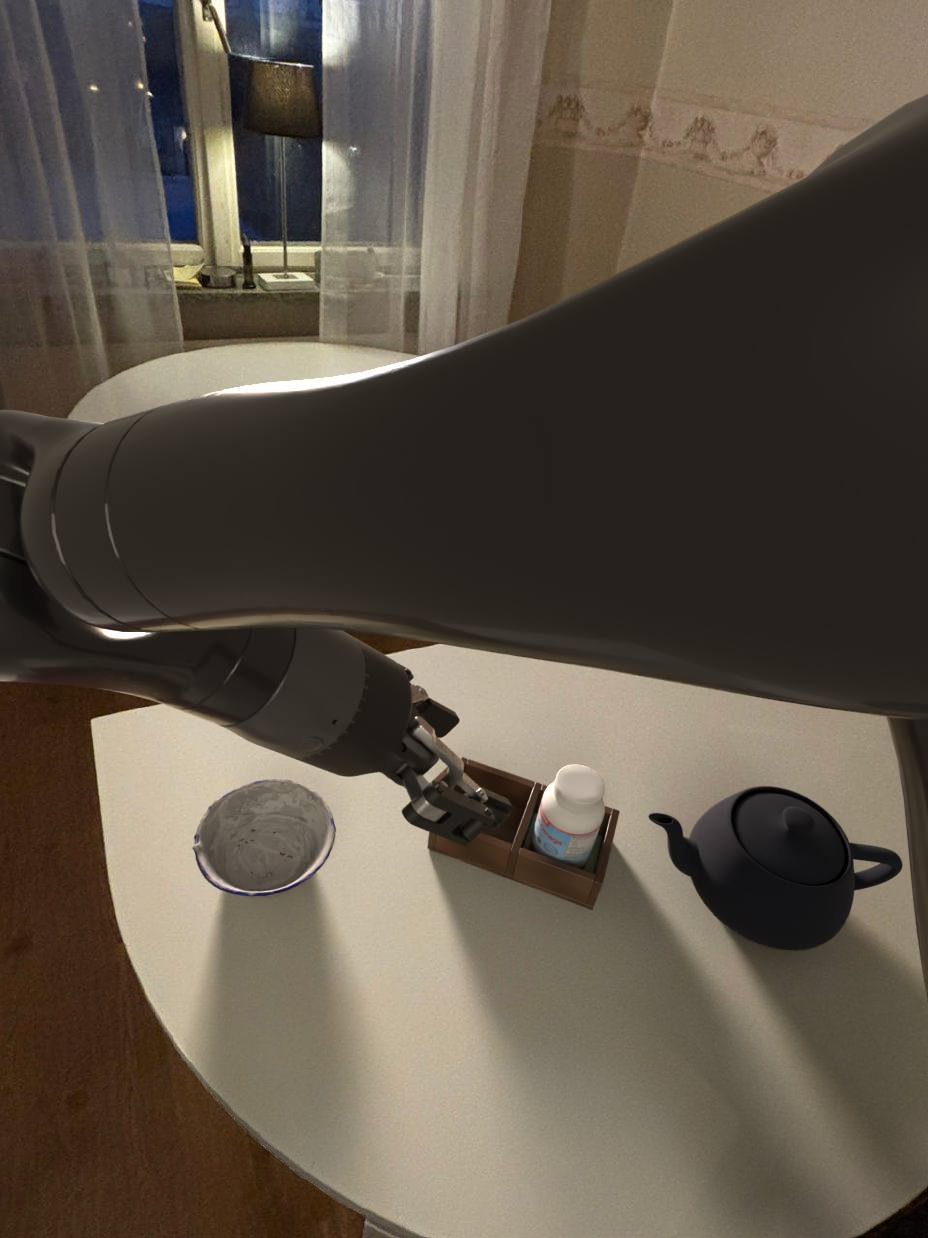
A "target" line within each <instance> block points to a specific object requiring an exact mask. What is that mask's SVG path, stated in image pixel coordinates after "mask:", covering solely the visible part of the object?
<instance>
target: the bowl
mask: <svg viewBox="0 0 928 1238" xmlns="http://www.w3.org/2000/svg"><path fill="white" fill-rule="evenodd" d="M336 833H337V827H336V825H335V820H334V816H333V813H332V811H331V809H330V806H329V805H328V804H327V802H326V801H325V800H324V798H323V797H322V796H321V795H320V794H319V793H317V792H316V791H315V790H313V789H312V788H310V787H308V786H307V785H306V784H304V783H301V782H298V781H293V780H290V779H285V778H283V779H282V778H271V779H270V778H269V779H263V780H255V781H253V782H250V783H246V784H243V785H241V786H239V787H237V788H235V789H232V790H230V791H229V792H227V793H226V794H224V795H223V796H221V797H219V798H218V799H215V800H214V801H213V802H211V803H210V805H208V808H207V810H206V811H205V812H204V814H203V816H202V818H201V820H200V821H199V823H198V825H197V829H196V832H195V834H194V837H193V839H194V845H193V846H192V848H191V849H192V850H193V852H194V855H195V856H194V857H195V862H196V865H197V868H198V870H199V871H200V873H201V875H202V876H203V878H204V879H205V880H206V881H207V882H208V883H209V884H210V885H211V886H213V887H214V888H216V889H217V890H219V891H222V892H225V893H228V894H231V895H237V896H241V897H247V898H255V899H269V898H274V897H278V896H280V895H283V894H286V893H287V892H290V891H291V890H294V888H296V887H298V886H300V885H302V884H303V883H305V882H306V881H308V880H309V879H311V878H312V877H313V876H314V875H316V873H317V872H318V871H319V870H320V869H321V868H322V867H323V866H324V865H325V863H326V862H327V861H328V858H329V856H330V854H331V852H332V850H333V847H334V845H335V844H334V843H335V840H336Z"/></svg>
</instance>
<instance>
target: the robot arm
mask: <svg viewBox="0 0 928 1238" xmlns="http://www.w3.org/2000/svg"><path fill="white" fill-rule="evenodd" d="M348 632H353V633H362V634H369V635H370V634H371V635H376V636H377V635H378V636H384V637H392V638H398V639H407V640H413V641H419V642H428V643H433V644H439V645H445V646H451V647H457V648H462V649H468V650H475V651H481V652H487V653H493V654H500V655H506V656H513V657H519V658H524V659H532V660H537V661H545V662H550V663H551V662H552V663H558V664H564V665H569V666H576V667H582V668H583V667H584V668H588V669H589V668H591V669H596V670H603V671H607V672H608V671H609V672H613V673H620V674H624V675H630V676H637V677H641V678H647V679H652V680H657V681H658V680H659V681H664V682H669V683H676V684H681V685H686V686H692V687H697V688H698V687H699V688H704V689H710V690H714V691H720V692H724V693H725V692H726V693H732V694H735V695H736V694H737V695H743V696H748V697H754V698H758V699H765V700H770V701H777V702H784V703H790V704H795V705H803V706H809V707H815V708H821V709H828V710H835V711H842V712H849V713H856V714H863V715H864V714H865V715H871V716H878V717H885V719H886V721H887V725H888V728H889V732H890V736H891V741H892V744H893V748H894V752H895V756H896V760H897V766H898V773H899V777H900V785H901V792H902V797H903V806H904V807H903V808H904V817H905V818H904V819H905V827H906V829H905V830H906V839H907V849H908V850H907V851H908V859H909V871H910V881H911V892H912V900H913V901H912V902H913V910H914V911H913V912H914V921H915V927H916V936H917V945H918V951H919V957H920V965H921V971H922V972H921V973H922V977H923V983H924V984H923V985H924V990H925V995H926V1001H927V1003H928V93H926V94H924V95H922V96H920V97H918V98H916V99H913V100H911V101H909V102H906V103H905V104H903V105H901V106H900V107H898V108H897V109H896V110H894V111H893V112H891V113H890V114H888V115H887V116H885V117H884V118H882V119H881V120H879V121H878V122H876V123H875V124H873V125H872V126H870V127H868V128H867V129H865V130H864V131H862V132H861V133H859V134H858V135H857V136H855V137H853V138H851V139H850V140H849V141H847V142H845V143H844V144H843V145H841V146H839V147H838V148H836V149H835V150H834V151H833V152H832V153H831V154H830V155H828V156H827V158H825V159H824V160H823V161H822V162H821V163H820V164H819V165H818V166H817V167H816V168H814V169H813V171H810V173H809V174H808V175H807V176H806V177H804V178H802V179H801V180H799V181H797V182H794V183H793V184H791V185H789V186H786V187H785V188H783V189H780V190H779V191H777V192H775V193H773V194H772V195H769V196H767V197H765V198H763V199H761V200H759V201H756V202H755V203H754V204H752V205H749V206H748V207H746V208H743V209H742V210H739V211H738V212H736V213H734V214H732V215H729V216H728V217H726V218H724V219H722V220H720V221H718V222H716V223H715V224H712V225H710V226H708V227H706V228H704V229H702V230H700V231H698V232H697V233H694V234H693V235H690V236H688V237H686V238H685V239H682V240H681V241H679V242H677V243H675V244H673V245H671V246H668V247H666V248H665V249H663V250H660V251H659V252H657V253H654V254H652V255H651V256H649V257H647V258H645V259H643V260H641V261H639V262H636V263H635V264H633V265H631V266H629V267H627V268H625V269H623V270H621V271H619V272H617V273H615V274H613V275H611V276H609V277H607V278H605V279H603V280H601V281H599V282H597V283H595V284H593V285H591V286H589V287H586V288H585V289H583V290H580V291H578V292H576V293H574V294H572V295H570V296H568V297H566V298H563V299H562V300H559V301H557V302H556V303H554V304H552V305H549V306H547V307H545V308H543V309H541V310H538V311H536V312H534V313H532V314H530V315H528V316H526V317H523V318H520V319H519V320H516V321H514V322H510V323H509V324H506V325H503V326H501V327H497V328H495V329H493V330H490V331H487V332H486V333H485V332H484V333H483V334H480V335H477V336H475V337H473V338H469V339H468V340H465V341H462V342H459V343H457V344H454V345H452V346H447V347H446V348H445V347H444V348H442V349H439V350H435V351H432V352H429V353H426V354H423V355H420V356H418V357H414V358H411V359H408V360H404V361H402V362H397V363H394V364H389V365H386V366H382V367H377V368H375V369H371V370H366V371H363V372H356V373H351V374H344V375H338V376H333V377H324V378H314V379H303V380H290V381H289V380H288V381H287V380H286V381H276V382H266V383H258V384H252V385H244V386H240V387H233V388H227V389H223V390H217V391H213V392H209V393H208V392H207V393H204V394H200V395H195V396H192V397H189V398H184V399H181V400H176V401H174V402H171V403H167V404H164V405H160V406H157V407H154V408H150V409H146V410H143V411H140V412H135V413H133V414H129V415H127V416H122V417H120V418H116V419H113V420H109V421H107V422H96V421H90V420H81V419H72V418H62V417H53V416H47V415H42V414H38V413H33V412H29V411H22V410H17V409H0V682H11V683H25V684H26V683H27V684H43V685H44V684H45V685H62V686H71V687H72V686H74V687H84V688H92V689H98V690H104V691H111V692H115V693H121V694H124V695H125V694H126V695H130V696H133V697H139V698H141V699H146V700H150V701H153V702H156V703H158V704H162V705H164V706H167V707H169V708H173V709H175V710H178V711H180V712H183V713H185V714H189V715H191V716H193V717H195V718H199V719H201V720H204V721H206V722H209V723H212V724H214V725H218V726H220V727H221V728H224V729H226V730H228V731H230V732H231V733H234V734H235V735H236V736H238V737H240V738H241V739H243V740H245V741H247V742H249V743H252V744H254V745H256V746H259V747H261V748H265V749H267V750H270V751H273V752H275V753H278V754H281V755H283V756H286V757H289V758H291V759H294V760H296V761H299V762H302V763H304V764H306V765H309V766H312V767H315V768H318V769H320V770H324V771H325V772H328V773H331V774H334V775H337V776H339V777H347V778H352V777H359V776H364V775H369V774H375V773H376V774H377V773H380V774H382V775H383V776H385V777H386V778H387V779H389V780H391V782H393V783H394V784H396V785H398V786H400V787H403V788H404V789H405V791H406V793H407V795H408V797H409V799H410V802H408V803H407V804H406V805H405V806H404V807H403V808H402V809H401V815H402V816H403V818H404V819H405V821H406V822H407V823H409V824H410V825H412V826H413V827H416V828H418V829H421V830H423V831H426V832H428V833H429V832H431V833H433V834H436V835H438V836H441V837H443V838H446V839H448V840H451V841H453V842H456V843H458V844H461V845H463V846H467V845H468V844H469V843H470V842H471V841H472V840H474V839H475V838H476V837H477V836H478V835H479V834H480V833H481V832H482V831H483V830H485V829H486V828H488V829H490V830H495V829H496V828H497V827H499V826H500V825H501V824H502V823H503V822H504V821H505V820H506V819H507V818H509V817H510V813H511V812H512V811H513V807H512V805H511V803H510V802H509V800H508V799H507V798H505V797H503V796H500V795H498V794H496V793H494V792H491V791H489V790H487V789H485V788H482V787H479V786H478V785H477V784H476V783H475V782H474V781H473V780H472V779H471V778H470V777H468V776H467V775H466V774H465V773H464V763H463V761H462V760H461V757H459V756H458V755H457V754H456V753H455V752H454V751H453V750H452V749H451V748H450V747H449V746H447V745H446V743H444V742H443V741H442V740H441V739H442V738H444V737H446V736H447V735H448V734H449V733H450V732H451V731H452V730H453V729H455V727H456V726H457V725H459V723H460V721H461V720H460V717H459V716H458V714H457V713H456V711H454V710H453V709H451V708H449V707H447V706H445V705H443V704H442V703H440V702H438V701H436V700H434V699H432V698H431V697H429V694H428V692H427V690H426V689H425V688H424V687H422V686H420V685H416V684H412V683H411V681H412V680H413V679H414V678H415V676H414V675H413V673H412V671H411V669H409V668H408V667H406V666H404V665H402V664H400V663H398V662H397V661H396V660H394V659H392V658H390V657H389V656H387V655H385V654H384V653H382V652H380V651H379V650H377V649H375V648H374V647H371V645H368V644H366V643H365V642H364V641H361V640H360V639H358V638H357V637H354V636H353V635H351V634H349V633H348ZM439 760H440V761H442V762H443V763H444V764H445V765H446V767H445V768H444V769H443V770H442V771H441V772H440V773H439V774H438V775H437V776H436V777H434V779H432V781H430V782H429V781H428V780H427V778H426V777H425V775H426V774H427V773H428V772H429V771H430V770H431V769H432V768H433V767H435V766H436V764H438V762H439ZM452 785H458V786H460V787H461V788H462V789H463V790H464V791H465V792H466V793H465V794H464V795H463V794H461V793H458V792H456V791H454V790H452V789H450V787H451V786H452Z"/></svg>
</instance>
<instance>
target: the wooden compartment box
mask: <svg viewBox="0 0 928 1238" xmlns="http://www.w3.org/2000/svg"><path fill="white" fill-rule="evenodd" d="M460 759H461V760H462V761H463V763H464V773H465V774H466V775H467V776H468V777H470V778H471V779H472V780H473V781H474V782H475V783H476V784H477V785H478V786H479V787H482V788H485V789H487V790H489V791H491V792H494V793H496V794H498V795H500V796H503V797H505V798H507V799H508V800H509V802H510V803H511V805H512V807H513V811H512V812H511V813H510V817H509V818H507V819H506V820H505V821H504V822H503V823H502V824H501V825H500V826H499V827H497V828H496V829H495V830H490V829H488V828H486V829H485V830H483V831H482V832H481V833H480V834H479V835H478V836H477V837H476V838H475V839H474V840H472V841H471V842H470V843H469V844H468V845H467V846H463V845H461V844H458V843H456V842H453V841H451V840H448V839H446V838H443V837H441V836H438V835H436V834H433V833H431V832H428V839H427V849H428V850H431V851H433V852H435V853H438V854H440V855H444V856H446V857H450V858H451V859H454V860H457V861H460V862H463V863H465V864H468V865H471V866H473V867H476V868H479V869H482V870H484V871H486V872H489V873H491V874H495V875H497V876H500V877H502V878H505V879H508V880H510V881H513V882H516V883H519V884H522V885H524V886H526V887H529V888H532V889H534V890H538V891H540V892H542V893H546V894H548V895H550V896H553V897H556V898H559V899H561V900H563V901H566V902H569V903H572V904H575V905H577V906H579V907H583V908H585V909H587V910H591V911H594V908H595V905H596V903H597V900H598V898H599V896H600V892H601V890H602V887H603V885H604V880H605V876H606V872H607V868H608V864H609V861H610V860H609V859H610V855H611V850H612V847H613V842H614V837H615V834H616V830H617V824H618V820H619V816H620V813H621V811H620V810H619V809H615V808H613V807H609V806H607V805H605V814H604V818H603V821H602V823H601V826H600V829H599V832H598V834H597V837H596V840H595V843H594V846H593V848H592V851H591V854H590V856H589V859H588V861H587V864H586V865H585V867H584V868H583V869H582V870H581V869H579V868H576V867H573V866H570V865H568V864H565V863H562V862H559V861H557V860H554V859H551V858H548V857H546V856H543V855H540V854H537V853H535V852H532V851H530V841H531V837H532V833H533V830H534V826H535V822H536V819H537V815H538V812H539V808H540V804H541V801H542V797H543V794H544V792H545V790H546V788H547V787H548V786H549V785H546V784H542V783H539V782H535V781H534V780H531V779H528V778H525V777H523V776H519V775H517V774H514V773H511V772H508V771H505V770H502V769H499V768H496V767H493V766H491V765H488V764H484V763H482V762H479V761H476V760H473V759H470V758H467V757H464V756H461V757H460ZM450 789H452V790H454V791H456V792H458V793H461V794H463V795H464V794H465V793H466V792H465V791H464V790H463V789H462V788H461V787H460V786H458V785H452V786H451V787H450Z"/></svg>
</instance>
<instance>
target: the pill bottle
mask: <svg viewBox="0 0 928 1238" xmlns="http://www.w3.org/2000/svg"><path fill="white" fill-rule="evenodd" d="M547 786H548V787H547V788H546V790H545V792H544V794H543V797H542V801H541V804H540V808H539V812H538V815H537V819H536V822H535V826H534V830H533V833H532V837H531V841H530V851H532V852H535V853H537V854H540V855H543V856H546V857H548V858H551V859H554V860H557V861H559V862H562V863H565V864H568V865H570V866H573V867H576V868H579V869H581V870H582V869H583V868H584V867H585V865H586V864H587V861H588V859H589V856H590V854H591V851H592V848H593V846H594V843H595V840H596V837H597V834H598V832H599V829H600V826H601V823H602V821H603V818H604V814H605V806H606V805H605V801H604V794H605V782H604V780H603V778H602V777H601V775H600V774H599V773H598V772H597V771H595V770H594V769H593V768H590V767H589V766H586V765H583V764H577V763H572V764H568V765H565V766H563V767H562V768H560V769H559V770H558V772H557V773H556V775H555V779H554V781H553V782H551V783H549V785H547Z"/></svg>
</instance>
